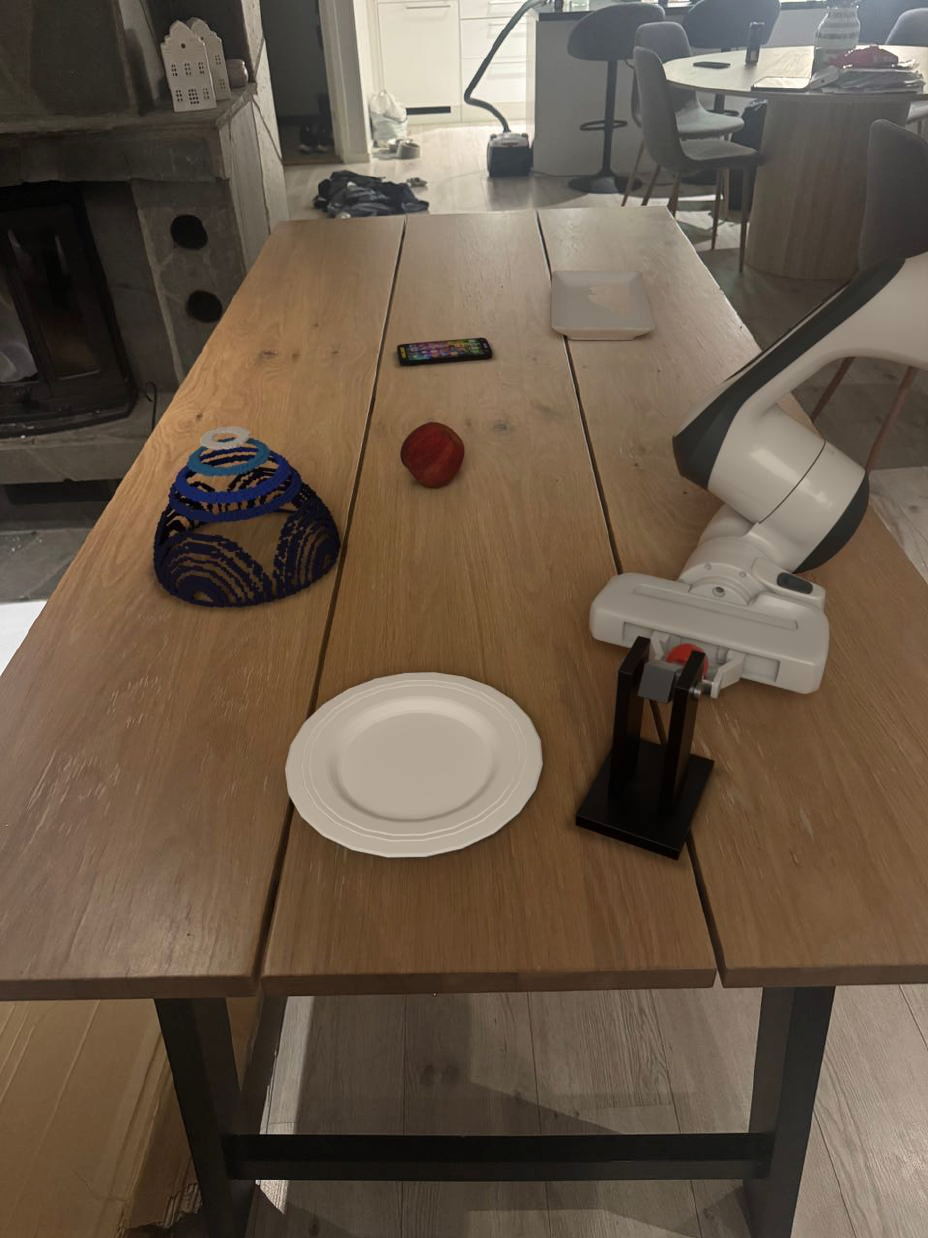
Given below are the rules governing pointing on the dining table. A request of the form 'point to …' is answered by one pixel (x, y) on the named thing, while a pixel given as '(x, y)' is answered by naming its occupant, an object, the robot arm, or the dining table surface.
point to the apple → (433, 454)
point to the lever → (666, 673)
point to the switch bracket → (650, 765)
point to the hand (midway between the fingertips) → (683, 683)
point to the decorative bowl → (262, 489)
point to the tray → (591, 320)
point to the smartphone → (444, 351)
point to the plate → (414, 765)
